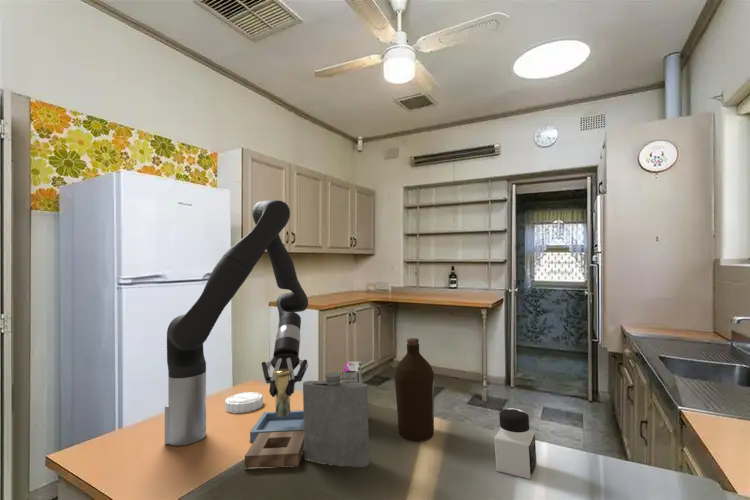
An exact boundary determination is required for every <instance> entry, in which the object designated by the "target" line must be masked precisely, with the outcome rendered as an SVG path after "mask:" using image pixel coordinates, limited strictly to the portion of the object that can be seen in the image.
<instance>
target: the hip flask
mask: <svg viewBox="0 0 750 500" xmlns="http://www.w3.org/2000/svg"><path fill="white" fill-rule="evenodd" d="M325 379H326V380H306V381H303V382H302V394H303V395H302V398H303V399H302V403H303V406H302V410H303V413H304V452H303V458H304V457H305V458H306V459H310V460H313V461H317V462H321V463H326V464H332V465H343V466H354V467H353V468H365V467H367V466H369V465H370V445H369V443H370V440H369V436H370V435H369V408H368V407H369V405H368V404H369V403H368V400H369V399H368V385H367V384H366V383H363V382H362V383H343V382H341V379H342V373H340V372H328V373H326V374H325ZM332 465H331V466H332Z"/></svg>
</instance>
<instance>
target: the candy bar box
mask: <svg viewBox="0 0 750 500" xmlns="http://www.w3.org/2000/svg"><path fill="white" fill-rule="evenodd" d="M362 378H363V377H362V361H359V360H358V361H345V364H344V367H343V369H342V371H341V380H342V383H363V380H362Z"/></svg>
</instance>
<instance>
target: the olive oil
mask: <svg viewBox="0 0 750 500" xmlns="http://www.w3.org/2000/svg"><path fill="white" fill-rule="evenodd" d="M419 340H420V339H418V338H415V337H413V338H411V337H410V338H406V343H407V344H406V353H405V355H404V356H403V358H402V359H401V360H400V361H399V362H398V363H397V365H396V367H395V371H394V387H395V388H394V389H395V398H396V413H397V425H398V427H397V428H398V435H399V437H400V438H402V439H403V440H406V441H410V442H424V441H428V440H431V439H432V438H433V437H434V435H435V417H434V416H435V413H434V412H435V410H434V409H435V405H434V403H435V401H434V400H435V373H434V369H433V367H432V365H431V364H430V363H429V362H428V361H427V360H426V358H424V356H423V355H422V354H421V353H420V344H419V342H420V341H419Z"/></svg>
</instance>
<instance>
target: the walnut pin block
mask: <svg viewBox="0 0 750 500" xmlns="http://www.w3.org/2000/svg"><path fill="white" fill-rule="evenodd" d="M281 447H284V448H281ZM303 449H304V431H290V432H269V433H259V434H258V436H257V437H256V439H255V441H254V442H252V444H251V446H250V447H249V449H248V450H247V452H246V453H245V455H244V468H245V467H246V468H248V467H249V468H250V467H283V466H284V467H285V466H298V465H299V466H300V464H299V462H300V463H301V461H300V459H301V460H302V458H301V456H302V457H303V455H302V453H303V454H304V452H303Z"/></svg>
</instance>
